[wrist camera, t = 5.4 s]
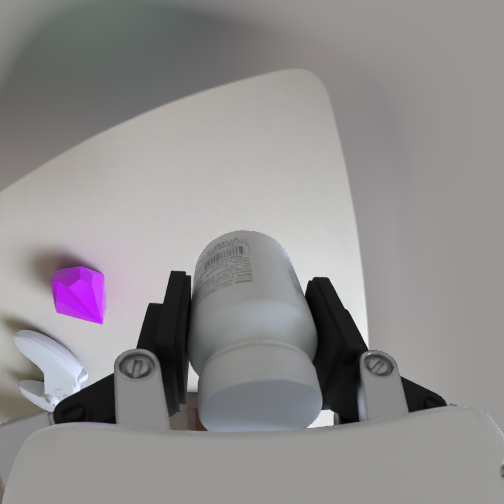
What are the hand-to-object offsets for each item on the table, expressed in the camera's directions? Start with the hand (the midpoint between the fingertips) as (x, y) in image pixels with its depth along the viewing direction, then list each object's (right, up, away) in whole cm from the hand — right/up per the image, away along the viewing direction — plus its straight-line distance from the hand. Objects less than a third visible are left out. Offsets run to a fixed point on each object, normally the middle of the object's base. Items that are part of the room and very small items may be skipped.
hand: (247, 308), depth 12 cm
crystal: (-16, -1, +16) cm, 23 cm away
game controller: (-25, -13, +21) cm, 35 cm away
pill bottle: (0, +1, +3) cm, 3 cm away
